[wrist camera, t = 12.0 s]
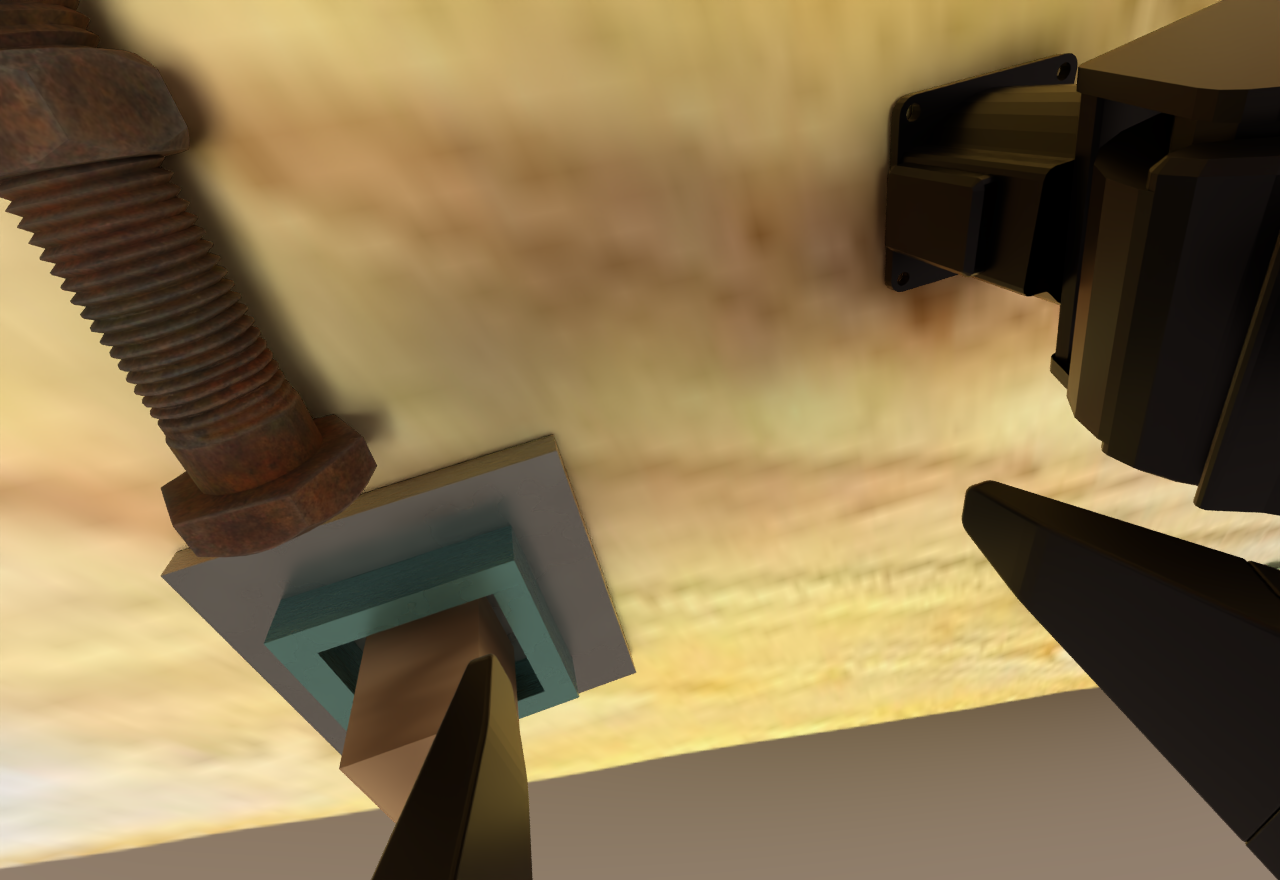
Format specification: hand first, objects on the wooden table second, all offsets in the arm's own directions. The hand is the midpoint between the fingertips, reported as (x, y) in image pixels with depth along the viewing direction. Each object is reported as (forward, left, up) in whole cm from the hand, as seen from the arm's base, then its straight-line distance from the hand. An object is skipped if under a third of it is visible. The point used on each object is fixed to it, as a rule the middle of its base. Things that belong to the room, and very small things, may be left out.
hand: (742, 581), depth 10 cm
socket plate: (+10, +10, -12) cm, 19 cm away
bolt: (+11, -6, -12) cm, 18 cm away
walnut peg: (+10, +10, -11) cm, 18 cm away
